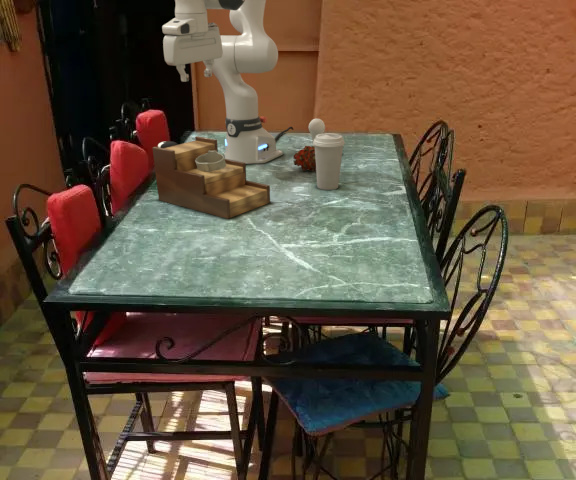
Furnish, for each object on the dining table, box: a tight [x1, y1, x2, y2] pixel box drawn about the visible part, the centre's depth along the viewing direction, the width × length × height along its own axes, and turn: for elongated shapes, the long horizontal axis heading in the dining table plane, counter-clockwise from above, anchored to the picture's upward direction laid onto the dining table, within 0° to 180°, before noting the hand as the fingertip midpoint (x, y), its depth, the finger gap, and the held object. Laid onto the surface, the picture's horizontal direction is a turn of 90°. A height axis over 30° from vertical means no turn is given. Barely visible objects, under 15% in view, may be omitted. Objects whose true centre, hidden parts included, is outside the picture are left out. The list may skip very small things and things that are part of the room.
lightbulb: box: [307, 118, 326, 146], centre depth 235 cm, size 6×6×11 cm
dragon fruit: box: [292, 145, 316, 172], centre depth 212 cm, size 8×8×12 cm
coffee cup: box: [312, 132, 346, 191], centre depth 193 cm, size 10×10×15 cm
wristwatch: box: [195, 150, 226, 172], centre depth 180 cm, size 9×6×5 cm
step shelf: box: [152, 135, 271, 220], centre depth 182 cm, size 18×28×15 cm, turn 51°
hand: (196, 79), depth 185 cm, fingers open, 8 cm apart
